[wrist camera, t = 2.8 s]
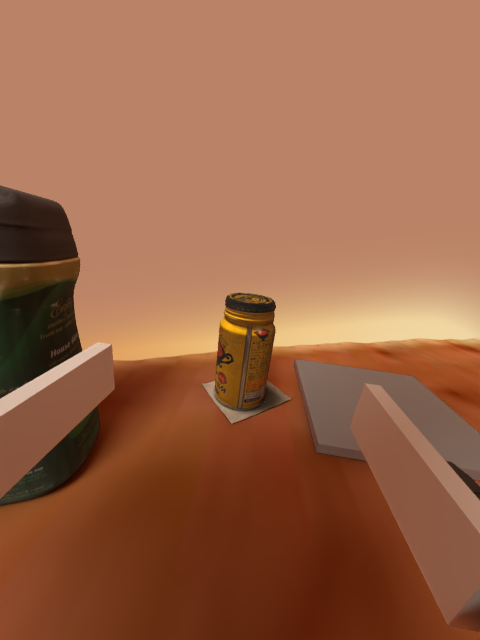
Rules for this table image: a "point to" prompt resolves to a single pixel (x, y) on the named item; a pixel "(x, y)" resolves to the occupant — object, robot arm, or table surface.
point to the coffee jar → (39, 322)
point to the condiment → (245, 358)
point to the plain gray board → (406, 391)
